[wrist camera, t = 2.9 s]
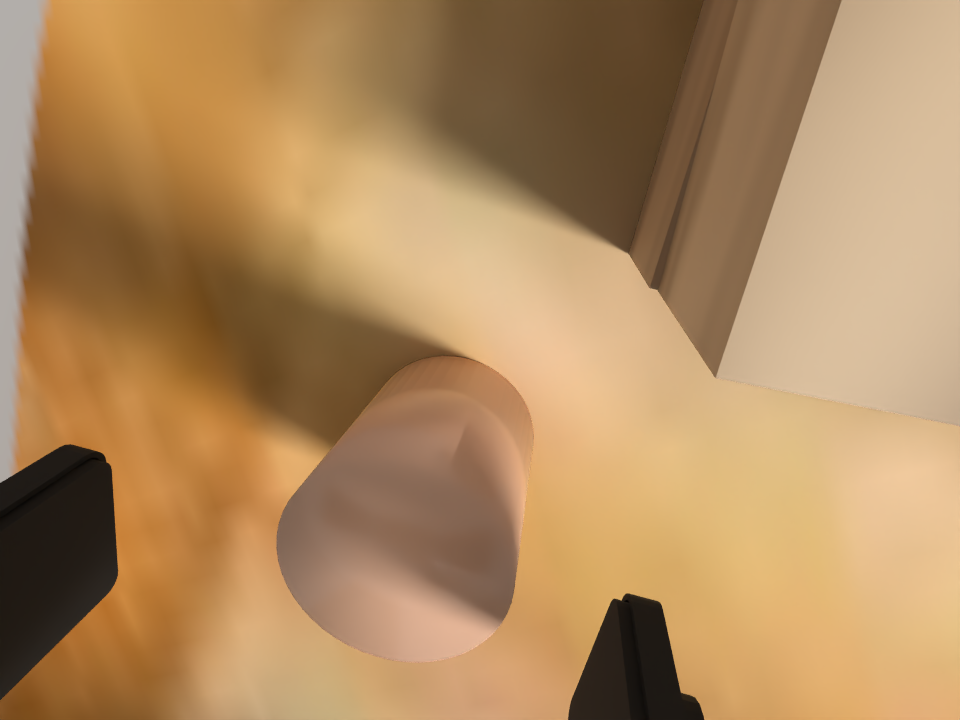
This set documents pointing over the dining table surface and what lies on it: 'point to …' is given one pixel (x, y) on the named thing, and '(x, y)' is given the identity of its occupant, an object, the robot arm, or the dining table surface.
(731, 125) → the tower top
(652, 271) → the tower base
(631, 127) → the dining table surface
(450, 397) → the pink rounded capsule
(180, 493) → the dining table surface
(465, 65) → the dining table surface
